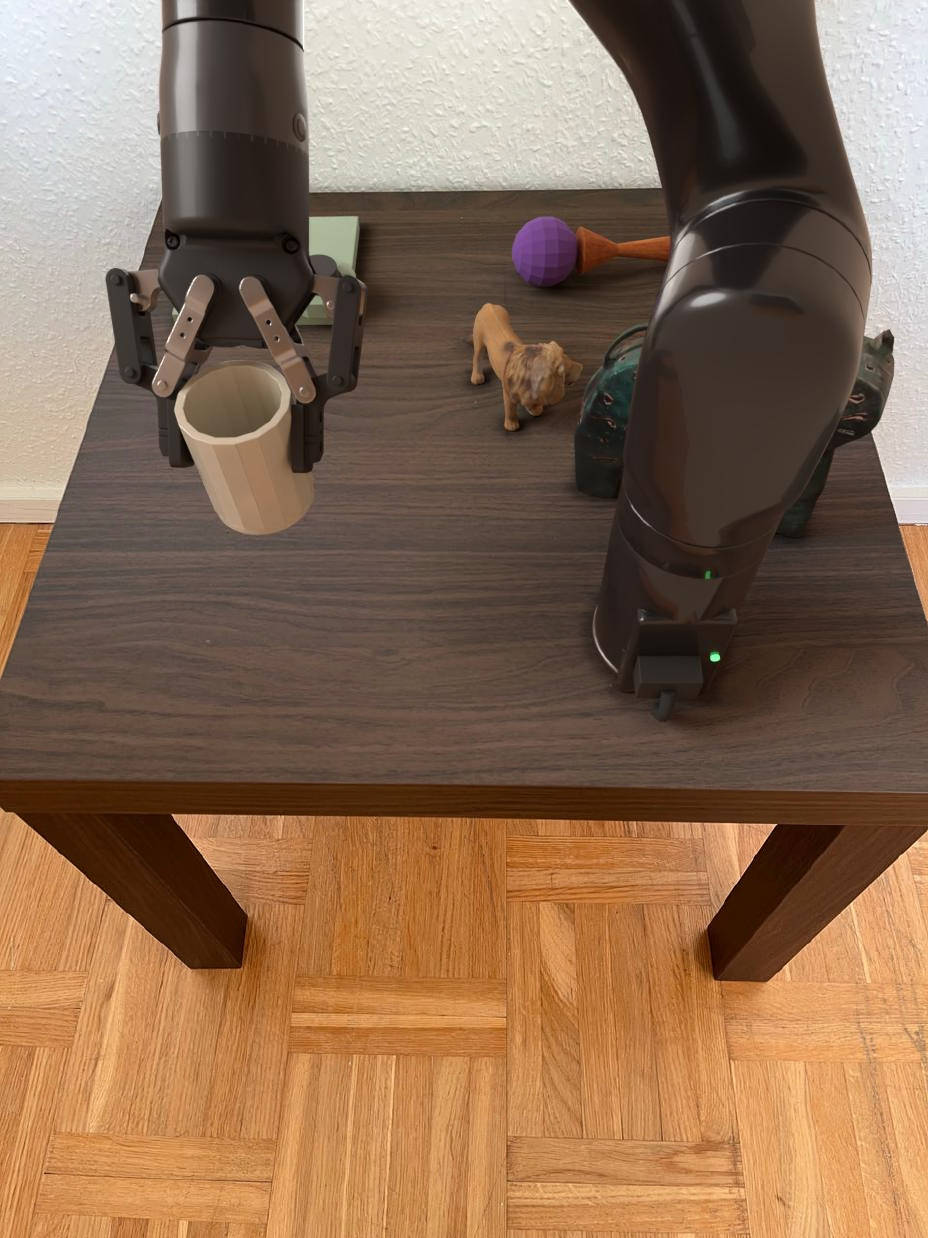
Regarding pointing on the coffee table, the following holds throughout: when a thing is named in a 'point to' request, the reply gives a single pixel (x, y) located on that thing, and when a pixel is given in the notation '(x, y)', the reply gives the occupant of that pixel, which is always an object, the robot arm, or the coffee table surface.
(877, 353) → the ceramic cat
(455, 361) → the coffee table surface
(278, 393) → the cup
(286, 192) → the robot arm
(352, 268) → the scale
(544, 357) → the lion figurine
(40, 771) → the coffee table surface
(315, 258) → the button
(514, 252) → the kendama
